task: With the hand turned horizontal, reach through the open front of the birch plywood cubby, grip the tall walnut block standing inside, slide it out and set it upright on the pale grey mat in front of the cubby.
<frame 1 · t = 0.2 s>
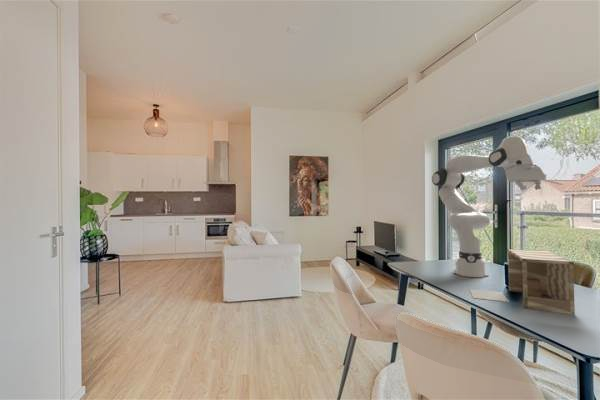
hand: (531, 189, 137), 52 cm above the table, tool tilted 20°, fingers open, 8 cm apart
cubby: (537, 300, 127), on the table
mat: (488, 295, 135), on the table
block: (532, 300, 128), on the table
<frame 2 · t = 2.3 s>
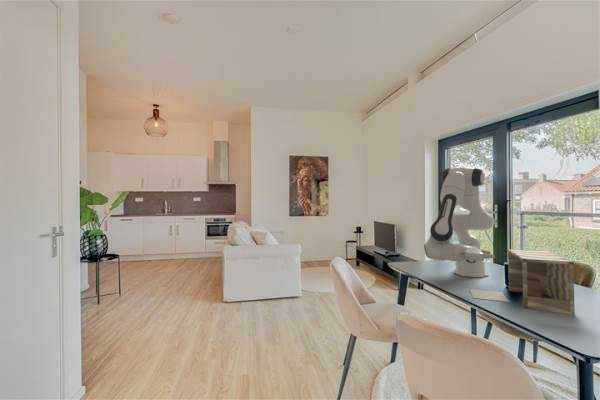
hand: (492, 254, 134), 20 cm above the table, tool horizontal, fingers open, 8 cm apart
nothing on the table moved.
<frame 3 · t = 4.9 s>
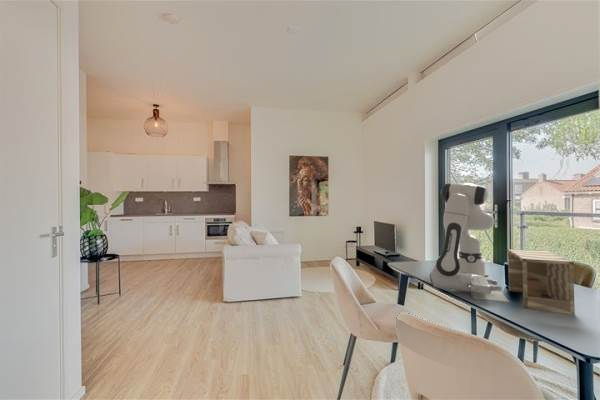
hand: (499, 285, 133), 5 cm above the table, tool horizontal, fingers open, 8 cm apart
nothing on the table moved.
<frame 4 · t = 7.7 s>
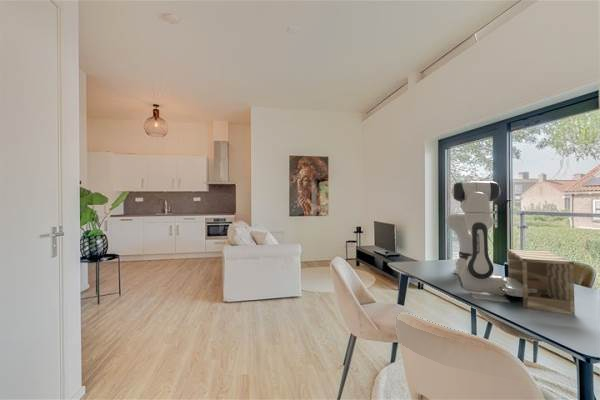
hand: (534, 288, 127), 6 cm above the table, tool horizontal, fingers closed on block, 5 cm apart
block: (532, 300, 128), on the table, touching gripper
everything else where it was.
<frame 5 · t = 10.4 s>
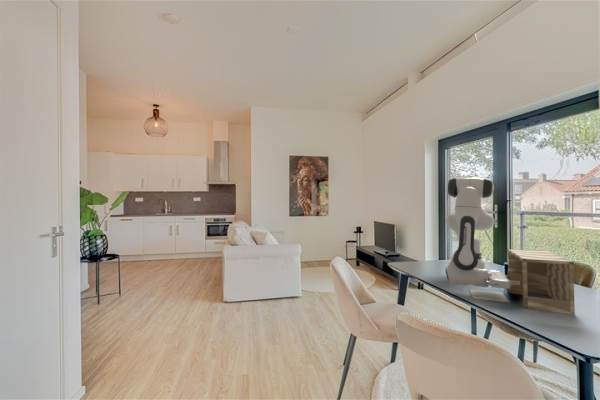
hand: (517, 280, 130), 8 cm above the table, tool horizontal, fingers closed on block, 5 cm apart
block: (515, 292, 130), point 3 cm above the table, touching gripper
everything else where it was.
when the fingers open (6 cm above the table, at t = 13.2 s): block stays where it is, resting on mat.
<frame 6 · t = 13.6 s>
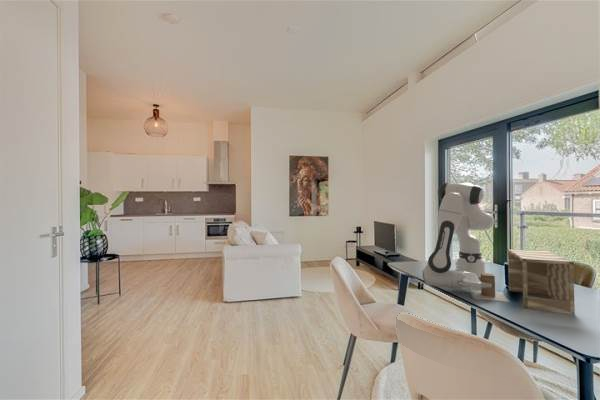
hand: (489, 282, 135), 6 cm above the table, tool horizontal, fingers open, 8 cm apart
block: (488, 294, 135), resting on mat
everything else where it was.
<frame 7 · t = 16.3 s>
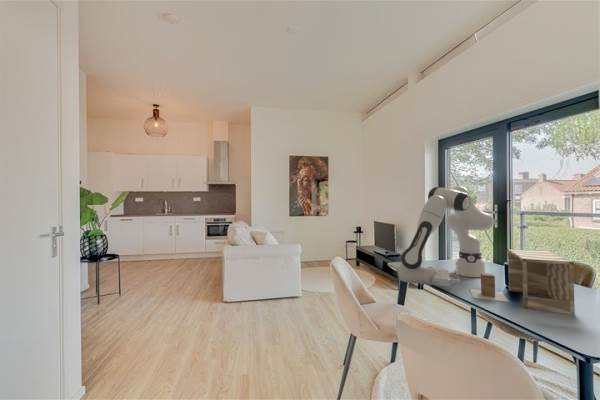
hand: (459, 278, 140), 7 cm above the table, tool horizontal, fingers open, 8 cm apart
nothing on the table moved.
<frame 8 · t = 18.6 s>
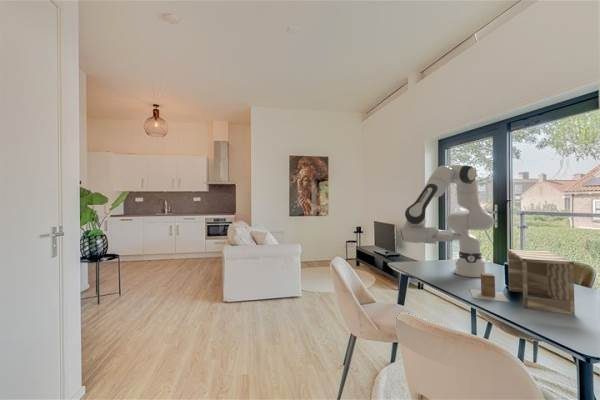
hand: (461, 236, 144), 28 cm above the table, tool horizontal, fingers open, 8 cm apart
nothing on the table moved.
at the end: block 0.1 cm from the mat (horizontally); block tilted 0°; the gripper is holding nothing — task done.
